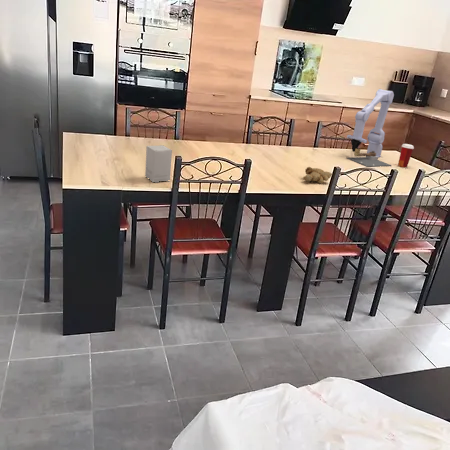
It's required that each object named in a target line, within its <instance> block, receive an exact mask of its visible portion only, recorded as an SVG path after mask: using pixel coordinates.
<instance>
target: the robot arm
mask: <svg viewBox="0 0 450 450" xmlns="http://www.w3.org/2000/svg"><path fill="white" fill-rule="evenodd" d="M394 96H395V94H394V91H393V90H385V89H382V88H379V89H377V91H376V93H375V96H374V98H373V99H372V100H371V102H370V103H367V104H366V105H365V106H364V107H363V108H362V109H361V110H359V111H357V112H356V114H355V116H354V119H355V120H354V121H355V126H354V129H353V133H352V135H351V134H347V135H346V139H350V143H351V148H352V149H351V152H353V153H355V149H356V148H358V149H359V146H360V145H361V144H362V143H363V144H367V143H368V145H367V150H366V153H369V152H372V151H375V153H376V156H377V157H378V158H381V157H382V155H381V154H382V151H383V143H384V141H385V135H386V132H385V131H384V130H383V128H384V125H385V121H386V118H387V114H388V112H389V111H388V110H389V108H390V105H392V103H393V99H394ZM378 104H380V108H379V111H378V114H377V119H376V121H375V126H374V128H371V129H370V130H369V133H368V134H367V139H365V138H363V134H364V130H365V125H366V123H367V121H368V120H369V118H370V115H371V114H372V113H373V111H375V107H376V106H377V105H378Z"/></svg>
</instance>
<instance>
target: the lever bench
mask: <svg viewBox="0 0 450 450" xmlns="http://www.w3.org/2000/svg"><path fill="white" fill-rule="evenodd" d="M346 159H347V160H350V161H352V162H354V163H357V164H359V165H362V166H364V167H365V168H375V167H377V168H378V167H380V166H381V167H392V164H390V163H386V162H385V161H381V160H379V157H377V156H354V157H346ZM381 167H380V168H381Z"/></svg>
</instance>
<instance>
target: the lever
mask: <svg viewBox="0 0 450 450" xmlns="http://www.w3.org/2000/svg"><path fill="white" fill-rule="evenodd" d="M361 149H362V148H359V147H358V148H356V149H355V152H353V156H354V157H366V156H376V153H375V151H372V152H369V153H367V152H363V153H361Z"/></svg>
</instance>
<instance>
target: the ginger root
mask: <svg viewBox="0 0 450 450" xmlns="http://www.w3.org/2000/svg"><path fill="white" fill-rule="evenodd" d="M305 174H306V175H304V176H303V177H302V178H303V180H304V181H306V182H317V183H319V184H323V183H324V181H325V182H327V181H329V179H331V177H332V176H333V173H332V172H329V171H325V170H323V169H321V168H318V167H314V168H313V167H310V166H308V167H306V168H305Z"/></svg>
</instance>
